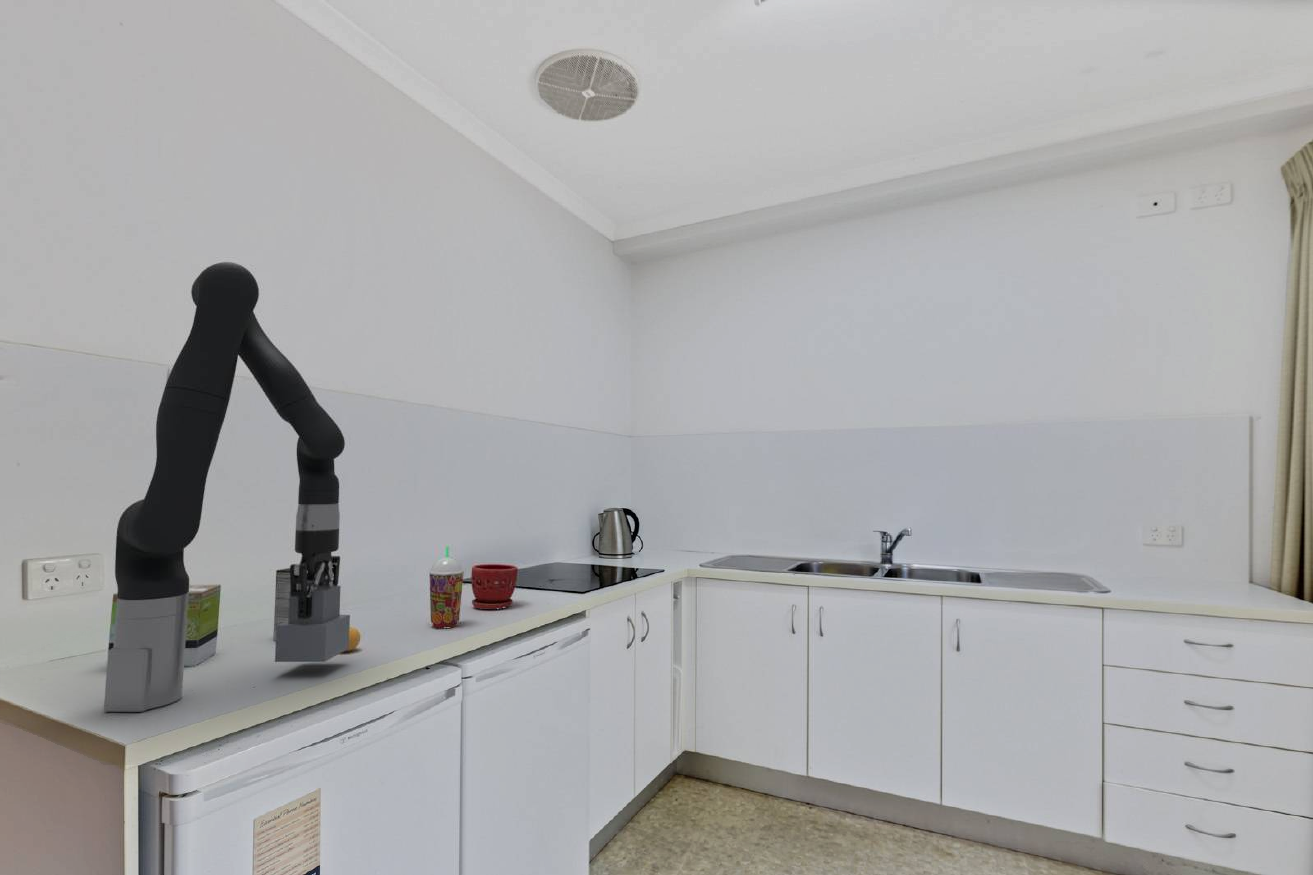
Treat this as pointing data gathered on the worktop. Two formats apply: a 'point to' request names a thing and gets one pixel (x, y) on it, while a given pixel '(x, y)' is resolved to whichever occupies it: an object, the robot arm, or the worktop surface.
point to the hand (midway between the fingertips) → (314, 613)
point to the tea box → (193, 623)
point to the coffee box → (282, 598)
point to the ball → (353, 638)
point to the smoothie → (445, 591)
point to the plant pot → (493, 585)
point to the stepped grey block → (314, 629)
